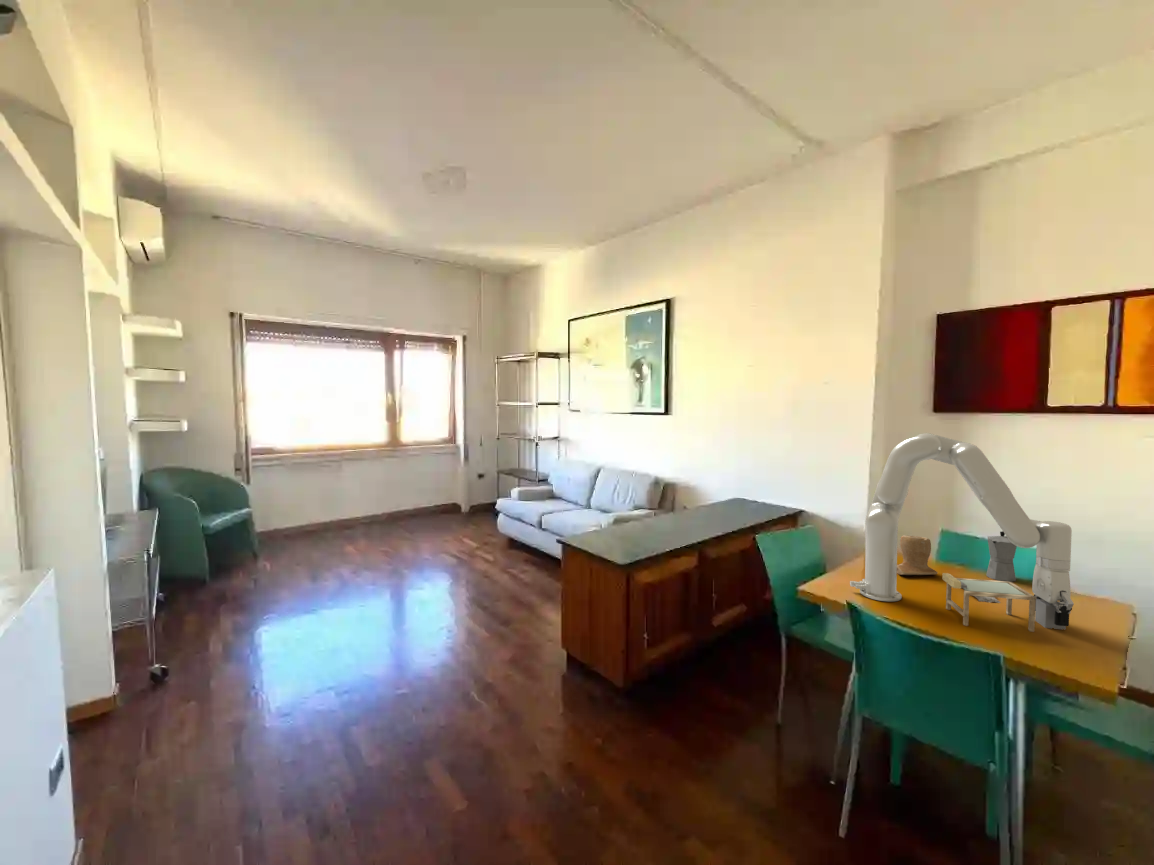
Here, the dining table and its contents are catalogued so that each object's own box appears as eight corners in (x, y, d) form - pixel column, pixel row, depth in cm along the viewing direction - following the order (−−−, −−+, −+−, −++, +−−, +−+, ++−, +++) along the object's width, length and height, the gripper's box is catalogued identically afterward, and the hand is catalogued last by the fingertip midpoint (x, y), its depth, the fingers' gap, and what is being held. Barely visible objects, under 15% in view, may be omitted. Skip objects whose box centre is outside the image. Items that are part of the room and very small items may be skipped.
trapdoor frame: (964, 625, 153) (965, 591, 152) (945, 608, 165) (946, 577, 164) (1034, 631, 148) (1035, 597, 147) (1009, 613, 160) (1011, 581, 160)
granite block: (1045, 627, 150) (1046, 605, 150) (1035, 620, 155) (1036, 598, 155) (1065, 629, 149) (1066, 606, 148) (1054, 622, 154) (1055, 600, 153)
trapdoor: (954, 592, 154) (955, 582, 154) (940, 581, 164) (941, 572, 163) (1025, 598, 149) (1025, 587, 149) (1006, 586, 159) (1007, 576, 158)
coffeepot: (1007, 584, 185) (1009, 536, 184) (977, 577, 193) (979, 531, 192) (1026, 577, 192) (1028, 531, 191) (997, 570, 200) (998, 525, 199)
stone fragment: (980, 605, 169) (1011, 605, 169) (980, 597, 169) (1011, 597, 168) (932, 578, 194) (959, 578, 194) (932, 571, 194) (959, 571, 193)
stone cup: (921, 568, 204) (922, 531, 203) (942, 578, 193) (943, 539, 192) (884, 568, 205) (885, 532, 204) (902, 578, 193) (903, 540, 192)
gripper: (1021, 553, 160) (1019, 606, 161) (1056, 571, 144) (1054, 629, 144) (1049, 555, 158) (1048, 608, 159) (1088, 573, 141) (1086, 632, 142)
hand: (1050, 618), depth 152 cm, fingers open, 9 cm apart
